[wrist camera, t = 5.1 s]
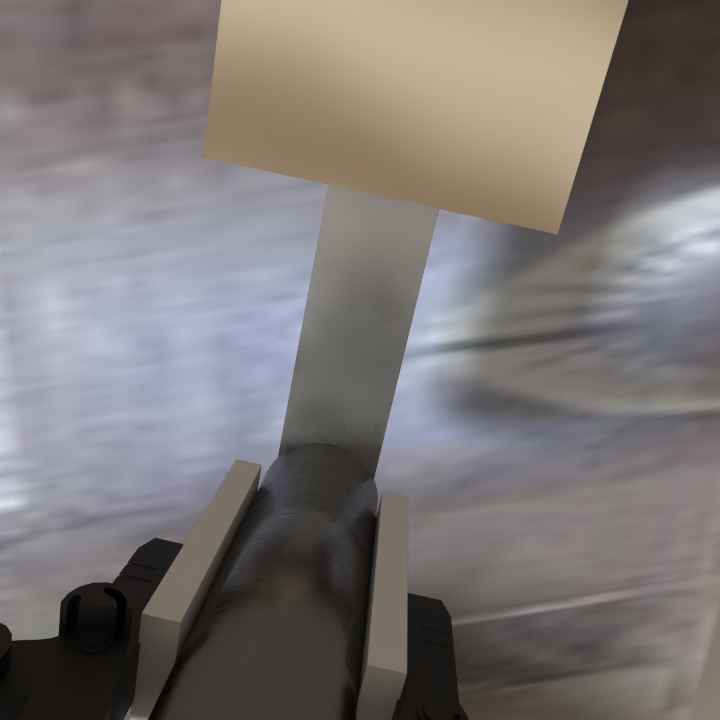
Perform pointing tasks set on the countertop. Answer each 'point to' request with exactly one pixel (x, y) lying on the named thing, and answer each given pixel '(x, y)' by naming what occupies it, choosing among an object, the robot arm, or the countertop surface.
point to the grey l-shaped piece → (314, 489)
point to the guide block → (416, 97)
